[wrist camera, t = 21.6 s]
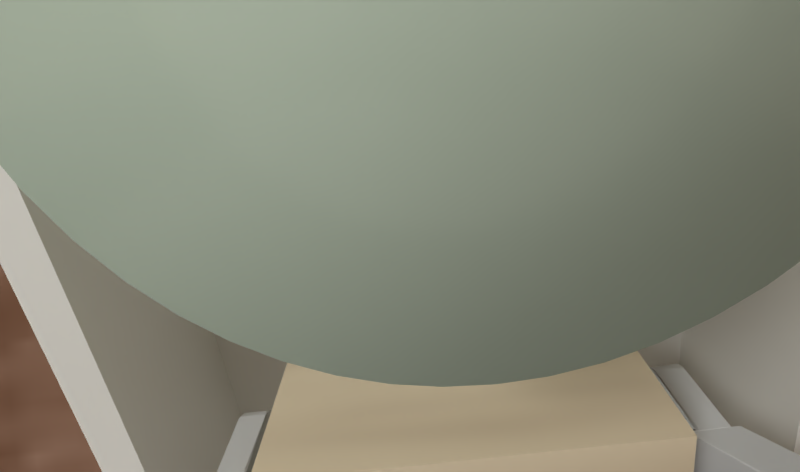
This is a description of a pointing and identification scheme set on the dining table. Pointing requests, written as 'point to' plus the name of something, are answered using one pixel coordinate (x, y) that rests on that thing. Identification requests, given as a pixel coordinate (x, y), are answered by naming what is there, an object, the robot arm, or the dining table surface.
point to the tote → (261, 375)
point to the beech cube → (479, 424)
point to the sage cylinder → (416, 169)
